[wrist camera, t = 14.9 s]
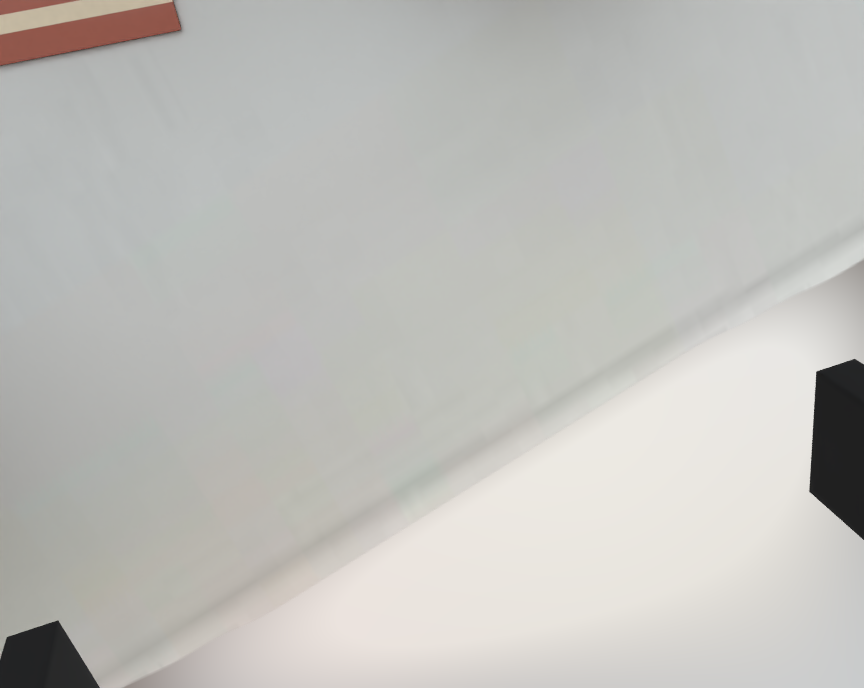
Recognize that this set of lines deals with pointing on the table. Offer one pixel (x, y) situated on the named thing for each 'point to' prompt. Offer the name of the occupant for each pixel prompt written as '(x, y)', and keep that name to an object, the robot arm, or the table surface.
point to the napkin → (77, 25)
